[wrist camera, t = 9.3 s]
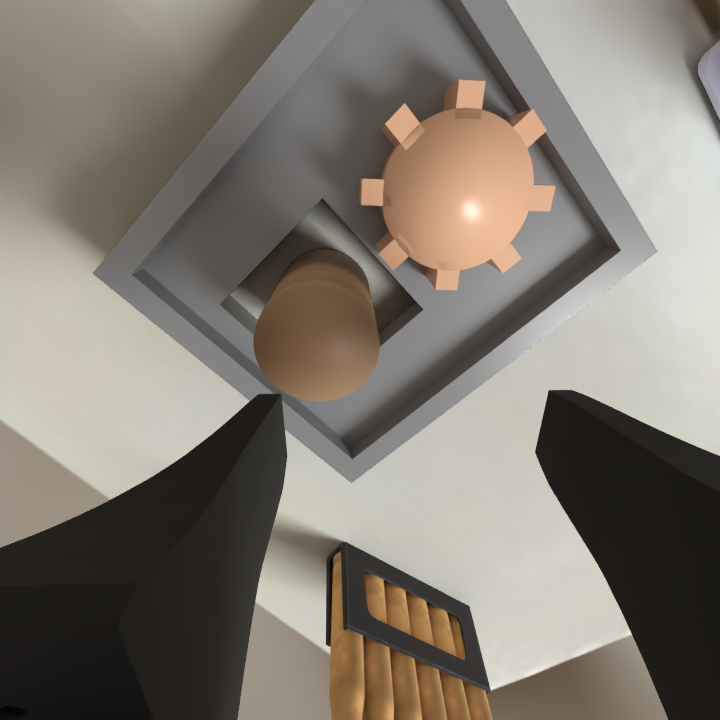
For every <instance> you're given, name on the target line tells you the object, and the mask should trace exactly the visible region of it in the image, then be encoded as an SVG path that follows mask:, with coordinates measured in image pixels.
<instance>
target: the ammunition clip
mask: <svg viewBox="0 0 720 720" xmlns="http://www.w3.org/2000/svg"><path fill="white" fill-rule="evenodd" d="M326 645H328V646H330V647H331V655H330V690H329V692H330V693H329V698H330V699H329V700H330V708H331V715H332V720H492V716H491V712H490V708H489V704H488V700H487V697H486V694H488V693H489V692H490V691H491V690H490V686H489V682H488V678H487V674H486V670H485V666H484V662H483V658H482V654H481V650H480V646H479V642H478V639H477V635H476V631H475V627H474V623H473V619H472V615H471V611H470V607H469V606H468V605H466V604H464V603H462V602H460V601H458V600H456V599H454V598H452V597H450V596H448V595H447V594H445V593H443V592H441V591H439V590H437V589H435V588H433V587H431V586H429V585H427V584H425V583H424V582H422V581H420V580H418V579H416V578H414V577H412V576H410V575H408V574H406V573H404V572H402V571H401V570H399V569H397V568H395V567H393V566H391V565H389V564H387V563H385V562H383V561H381V560H379V559H378V558H376V557H374V556H372V555H370V554H368V553H366V552H364V551H362V550H360V549H358V548H356V547H355V546H353V545H351V544H349V543H347V542H346V543H343V544H341V545H340V546H339V547H338V548H337V549H336V550H335V551H334V552H333V553H332V554H331V555H330V556H329V557H328V558H327V594H326ZM485 691H486V693H485Z"/></svg>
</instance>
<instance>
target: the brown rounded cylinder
mask: <svg viewBox="0 0 720 720" xmlns="http://www.w3.org/2000/svg"><path fill="white" fill-rule="evenodd" d="M253 347H254V353H255V357H256V360H257V363H258V365H259V367H260V369H261V370H262V372H263V374H264V375H265V376H266V377H267V379H268V380H269V381H270V382H271V383H272V384H273V385H274V386H276V387H277V388H278V389H280V390H281V391H283V392H284V393H286V394H288V395H290V396H293V397H295V398H299V399H302V400H307V401H318V402H319V401H330V400H335V399H338V398H341V397H344V396H346V395H348V394H350V393H352V392H354V391H355V390H356V389H358V388H359V387H360V386H361V385H362V384H363V383H364V382H366V380H367V379H368V378H369V377H370V375H371V373H372V372H373V370H374V368H375V366H376V363H377V360H378V356H379V349H380V342H379V335H378V329H377V324H376V319H375V314H374V309H373V304H372V299H371V294H370V289H369V284H368V280H367V277H366V275H365V273H364V271H363V270H362V268H361V267H360V266H359V265H358V263H357V262H355V261H354V260H353V259H352V258H351V257H349V256H348V255H346V254H344V253H342V252H339V251H336V250H331V249H317V250H312V251H309V252H306V253H304V254H302V255H300V256H299V257H298V258H296V259H295V260H294V261H293V262H292V263H291V264H290V265H289V266H288V268H287V270H286V271H285V273H284V275H283V276H282V278H281V280H280V282H279V283H278V285H277V287H276V289H275V290H274V292H273V294H272V296H271V298H270V299H269V301H268V303H267V305H266V306H265V308H264V310H263V312H262V313H261V315H260V317H259V319H258V321H257V324H256V327H255V331H254V338H253Z"/></svg>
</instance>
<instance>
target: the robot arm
mask: <svg viewBox="0 0 720 720" xmlns="http://www.w3.org/2000/svg"><path fill="white" fill-rule="evenodd" d="M698 74H699V77H700V79H701V81H702V83H703V85H704V87H705V90H706V92H707V94H708V96H709V98H710V100H711V102H712V104H713V107H714V109H715V111H716V113H717V115H718V117H719V119H720V40H719V41H718V42H717V43H716V44H715V45H714V46H713V47H711V48H710V49H709V50H708V51H707V52H706V53H705V54H704V55H703V56H702V57H701V60H700V62H699V64H698ZM535 453H536V455H537V458H538V460H539V463H540V465H541V468H542V470H543V472H544V475H545V477H546V479H547V481H548V483H549V485H550V487H551V489H552V490H553V492H554V494H555V495H556V497H557V499H558V500H559V502H560V504H561V505H562V507H563V509H564V510H565V512H566V514H567V515H568V517H569V518H570V520H571V522H572V523H573V525H574V526H575V528H576V530H577V531H578V533H579V535H580V536H581V538H582V539H583V541H584V543H585V544H586V546H587V547H588V549H589V551H590V552H591V554H592V556H593V557H594V559H595V561H596V562H597V564H598V566H599V568H600V569H601V571H602V573H603V575H604V577H605V579H606V581H607V583H608V585H609V587H610V589H611V591H612V593H613V595H614V597H615V599H616V601H617V603H618V605H619V607H620V609H621V611H622V613H623V615H624V618H625V620H626V622H627V624H628V626H629V629H630V631H631V633H632V635H633V638H634V640H635V642H636V644H637V646H638V649H639V651H640V653H641V655H642V657H643V660H644V662H645V664H646V667H647V669H648V671H649V674H650V676H651V678H652V681H653V684H654V686H655V688H656V691H657V693H658V696H659V698H660V700H661V703H662V705H663V707H664V709H665V712H666V715H667V717H668V720H720V456H718V455H716V454H713V453H711V452H708V451H706V450H703V449H701V448H698V447H696V446H694V445H692V444H689V443H687V442H685V441H682V440H680V439H678V438H675V437H673V436H671V435H669V434H666V433H664V432H662V431H660V430H658V429H656V428H653V427H651V426H649V425H647V424H645V423H643V422H641V421H639V420H637V419H635V418H632V417H630V416H628V415H626V414H624V413H622V412H620V411H618V410H616V409H614V408H612V407H610V406H608V405H606V404H603V403H601V402H599V401H597V400H595V399H593V398H590V397H588V396H586V395H583V394H581V393H578V392H575V391H572V390H549V392H548V396H547V401H546V406H545V410H544V415H543V419H542V424H541V428H540V433H539V437H538V442H537V446H536V451H535ZM286 461H287V449H286V438H285V427H284V416H283V405H282V394H258V395H257V396H255V397H254V398H253V399H252V400H251V401H250V402H249V403H248V404H246V405H245V406H244V407H243V408H242V409H241V410H240V411H239V412H238V413H236V414H235V415H234V416H233V417H232V418H231V419H230V420H228V421H227V422H226V423H225V424H224V425H223V426H222V427H220V428H219V429H218V430H217V431H216V432H214V433H213V434H212V435H211V436H209V437H208V438H207V439H205V440H204V441H203V442H202V443H200V444H199V445H198V446H196V447H195V448H194V449H193V450H191V451H190V452H189V453H187V454H186V455H185V456H183V457H182V458H180V459H179V460H177V461H176V462H175V463H173V464H172V465H170V466H168V467H167V468H165V469H164V470H162V471H161V472H159V473H157V474H156V475H154V476H153V477H151V478H149V479H148V480H146V481H144V482H142V483H141V484H139V485H137V486H135V487H133V488H131V489H130V490H128V491H126V492H124V493H122V494H120V495H119V496H117V497H115V498H113V499H111V500H109V501H108V502H106V503H104V504H102V505H100V506H98V507H96V508H94V509H91V510H89V511H87V512H85V513H83V514H81V515H79V516H77V517H74V518H72V519H70V520H68V521H65V522H63V523H61V524H59V525H56V526H54V527H52V528H50V529H47V530H45V531H42V532H40V533H37V534H35V535H33V536H30V537H27V538H25V539H22V540H20V541H17V542H14V543H12V544H9V545H6V546H4V547H1V548H0V720H237V718H238V710H239V704H240V696H241V689H242V682H243V675H244V668H245V662H246V655H247V648H248V642H249V636H250V629H251V623H252V617H253V611H254V605H255V599H256V593H257V587H258V582H259V578H260V573H261V569H262V564H263V561H264V557H265V553H266V550H267V546H268V542H269V539H270V535H271V531H272V528H273V524H274V520H275V517H276V513H277V509H278V505H279V502H280V498H281V494H282V490H283V484H284V477H285V469H286Z"/></svg>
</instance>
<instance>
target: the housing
mask: <svg viewBox="0 0 720 720" xmlns="http://www.w3.org/2000/svg"><path fill="white" fill-rule="evenodd" d="M321 199H323V200H324V201H325V202H326V203H327V204H328V205H329V206H330V207H331V208H332V210H333V211H334V212H335V213H336V214H337V215H338V216H339V217H340V218H341V219H342V221H343V222H344V223H345V224H346V225H347V226H348V227H349V228H350V229H351V230H352V232H353V233H354V234H355V235H356V236H357V237H358V238H359V239H360V240H361V241H362V243H363V244H364V245H365V246H366V247H367V248H368V249H369V250H370V251H371V252H372V253H373V255H374V256H375V257H376V258H377V259H378V260H379V261H380V262H381V263H382V264H383V266H384V267H385V268H386V269H387V270H388V271H389V272H390V273H391V274H392V275H393V277H394V278H395V279H396V280H397V281H398V282H399V283H400V284H401V285H402V286H403V288H404V289H405V290H406V291H407V292H408V293H409V294H410V295H411V296H412V297H413V299H414V300H415V301H416V302H414V303H413V304H412V305H411V306H410V307H409V308H407V309H406V310H405V311H404V312H403V313H402V314H401V315H399V316H398V317H397V318H396V319H395V320H394V321H393V322H391V323H390V324H389V325H388V326H387V327H386V328H384V329H383V330H382V331H381V332H380V333H379V334H378V335H379V342H380V349H379V356H378V360H377V363H376V366H375V368H374V370H373V372H372V373H371V375H370V377H369V378H368V379H367V380H366V382H364V383H363V384H362V385H361V386H360V387H359V388H358V389H356V390H355V391H354V392H352V393H350V394H348V395H346V396H344V397H341V398H338V399H335V400H330V401H319V402H318V401H307V400H302V399H299V398H295V397H293V396H290V395H288V394H286V393H284V392H283V391H281V390H280V389H278V388H277V387H276V386H274V385H273V384H272V383H271V382H270V381H269V380H268V379H267V377H266V376H265V375H264V374H263V372H262V370H261V369H260V367H259V365H258V363H257V360H256V357H255V353H254V347H253V338H254V331H255V327H256V324H257V321H258V320H257V319H256V318H254V317H253V316H252V315H251V314H250V313H249V312H248V311H247V310H246V309H244V308H243V307H242V306H241V305H240V304H239V303H238V302H237V301H236V300H234V299H233V298H232V297H231V296H230V295H229V294H230V293H231V292H232V291H233V290H234V289H235V288H236V287H237V286H238V285H239V284H240V283H241V282H242V281H243V280H244V279H245V278H246V277H247V276H248V275H249V274H250V273H251V272H252V271H253V270H254V269H255V267H256V266H257V265H258V264H259V263H260V262H261V261H262V260H263V259H264V258H265V257H266V256H267V255H268V254H269V253H270V252H271V251H272V250H273V249H274V248H275V247H276V246H277V245H278V244H279V243H280V242H281V240H282V239H283V238H284V237H285V236H286V235H287V234H288V233H289V232H290V231H291V230H292V229H293V228H294V227H295V226H296V225H297V224H298V223H299V222H300V221H301V220H302V219H303V218H304V217H305V216H306V215H307V213H308V212H309V211H310V210H311V209H312V208H313V207H314V206H315V205H316V204H317V203H318V202H319V201H320V200H321ZM656 252H658V251H657V250H656V248H655V246H654V245H653V243H652V242H651V240H650V238H649V237H648V235H647V233H646V232H645V230H644V228H643V227H642V225H641V223H640V222H639V220H638V218H637V217H636V215H635V213H634V212H633V210H632V208H631V207H630V205H629V203H628V202H627V200H626V198H625V197H624V195H623V194H622V192H621V190H620V189H619V187H618V185H617V184H616V182H615V180H614V179H613V177H612V175H611V174H610V172H609V170H608V169H607V167H606V165H605V164H604V162H603V160H602V159H601V157H600V155H599V154H598V152H597V150H596V149H595V147H594V146H593V144H592V142H591V141H590V139H589V137H588V136H587V134H586V132H585V131H584V129H583V127H582V126H581V124H580V122H579V121H578V119H577V117H576V116H575V114H574V112H573V111H572V109H571V107H570V106H569V104H568V102H567V101H566V99H565V98H564V96H563V94H562V93H561V91H560V89H559V88H558V86H557V84H556V83H555V81H554V79H553V78H552V76H551V74H550V73H549V71H548V69H547V68H546V66H545V64H544V63H543V61H542V59H541V58H540V56H539V54H538V53H537V51H536V50H535V48H534V46H533V45H532V43H531V41H530V40H529V38H528V36H527V35H526V33H525V31H524V30H523V28H522V26H521V25H520V23H519V21H518V20H517V18H516V16H515V15H514V13H513V11H512V10H511V8H510V6H509V5H508V3H507V2H506V0H315V1H314V2H313V3H312V5H311V6H310V7H309V8H308V9H307V11H306V12H305V13H304V14H303V16H302V17H301V18H300V19H299V21H298V22H297V23H296V24H295V25H294V27H293V28H292V29H291V30H290V32H289V33H288V34H287V35H286V37H285V38H284V39H283V40H282V41H281V43H280V44H279V45H278V46H277V48H276V49H275V50H274V51H273V52H272V54H271V55H270V56H269V57H268V59H267V60H266V61H265V62H264V64H263V65H262V66H261V67H260V68H259V70H258V71H257V72H256V73H255V75H254V76H253V77H252V78H251V80H250V81H249V82H248V83H247V84H246V86H245V87H244V88H243V89H242V91H241V92H240V93H239V94H238V95H237V97H236V98H235V99H234V100H233V102H232V103H231V104H230V105H229V107H228V108H227V109H226V110H225V111H224V113H223V114H222V115H221V116H220V118H219V119H218V120H217V121H216V122H215V124H214V125H213V126H212V127H211V129H210V130H209V131H208V132H207V134H206V135H205V136H204V137H203V138H202V140H201V141H200V142H199V143H198V145H197V146H196V147H195V148H194V150H193V151H192V152H191V153H190V154H189V156H188V157H187V158H186V159H185V161H184V162H183V163H182V164H181V165H180V167H179V168H178V169H177V170H176V172H175V173H174V174H173V175H172V177H171V178H170V179H169V180H168V181H167V183H166V184H165V185H164V186H163V188H162V189H161V190H160V191H159V193H158V194H157V195H156V196H155V197H154V199H153V200H152V201H151V202H150V204H149V205H148V206H147V207H146V208H145V210H144V211H143V212H142V213H141V215H140V216H139V217H138V218H137V220H136V221H135V222H134V223H133V224H132V226H131V227H130V228H129V229H128V231H127V232H126V233H125V234H124V236H123V237H122V238H121V239H120V240H119V242H118V243H117V244H116V245H115V247H114V248H113V249H112V250H111V251H110V253H109V254H108V255H107V256H106V258H105V259H104V260H103V261H102V263H101V264H100V265H99V266H98V267H97V269H96V270H95V271H94V272H93V274H94V275H95V276H96V277H98V278H99V279H100V280H101V281H103V282H104V283H105V284H106V285H108V286H109V287H110V288H111V289H113V290H114V291H115V292H116V293H117V294H119V295H120V296H121V297H122V298H124V299H125V300H126V301H127V302H129V303H130V304H131V305H132V306H134V307H135V308H136V309H137V310H138V311H140V312H141V313H142V314H143V315H145V316H146V317H147V318H148V319H150V320H151V321H152V322H153V323H155V324H156V325H157V326H158V327H159V328H161V329H162V330H163V331H164V332H166V333H167V334H168V335H169V336H171V337H172V338H173V339H174V340H176V341H177V342H178V343H179V344H180V345H182V346H183V347H184V348H185V349H187V350H188V351H189V352H190V353H192V354H193V355H194V356H195V357H197V358H198V359H199V360H200V361H201V362H203V363H204V364H205V365H206V366H208V367H209V368H210V369H211V370H213V371H214V372H215V373H216V374H218V375H219V376H220V377H221V378H222V379H224V380H225V381H226V382H227V383H229V384H230V385H231V386H232V387H234V388H235V389H236V390H237V391H239V392H240V393H241V394H242V395H243V396H245V397H246V398H247V399H248V400H250V401H251V400H252V399H253V398H254V397H255V396H257V395H258V394H282V405H283V416H284V427H285V429H286V430H287V431H288V432H289V433H290V434H292V435H293V436H294V437H295V438H297V439H298V440H299V441H300V442H302V443H303V444H304V445H305V446H307V447H308V448H309V449H310V450H311V451H313V452H314V453H315V454H316V455H318V456H319V457H320V458H321V459H323V460H324V461H325V462H326V463H328V464H329V465H330V466H331V467H332V468H334V469H335V470H336V471H337V472H339V473H340V474H341V475H342V476H344V477H345V478H346V479H347V480H349V481H350V482H351V483H352V482H353V481H355V480H356V479H357V478H359V477H360V476H361V475H363V474H364V473H365V472H367V471H368V470H369V469H371V468H372V467H373V466H375V465H376V464H377V463H379V462H380V461H381V460H383V459H384V458H385V457H387V456H388V455H389V454H391V453H392V452H393V451H394V450H396V449H397V448H398V447H400V446H401V445H402V444H404V443H405V442H406V441H408V440H409V439H410V438H412V437H413V436H414V435H416V434H417V433H418V432H420V431H421V430H422V429H424V428H425V427H426V426H428V425H429V424H430V423H432V422H433V421H434V420H436V419H437V418H438V417H439V416H441V415H442V414H443V413H445V412H446V411H447V410H449V409H450V408H451V407H453V406H454V405H455V404H457V403H458V402H459V401H461V400H462V399H463V398H465V397H466V396H467V395H469V394H470V393H471V392H473V391H474V390H475V389H477V388H478V387H479V386H480V385H482V384H483V383H484V382H486V381H487V380H488V379H490V378H491V377H492V376H494V375H495V374H496V373H498V372H499V371H500V370H502V369H503V368H504V367H506V366H507V365H508V364H510V363H511V362H512V361H514V360H515V359H516V358H518V357H519V356H520V355H522V354H523V353H524V352H525V351H527V350H528V349H529V348H531V347H532V346H533V345H535V344H536V343H537V342H539V341H540V340H541V339H543V338H544V337H545V336H547V335H548V334H549V333H551V332H552V331H553V330H555V329H556V328H557V327H559V326H560V325H561V324H563V323H564V322H565V321H566V320H568V319H569V318H570V317H572V316H573V315H574V314H576V313H577V312H578V311H580V310H581V309H582V308H584V307H585V306H586V305H588V304H589V303H590V302H592V301H593V300H594V299H596V298H597V297H598V296H600V295H601V294H602V293H604V292H605V291H606V290H608V289H609V288H610V287H611V286H613V285H614V284H615V283H617V282H618V281H619V280H621V279H622V278H623V277H625V276H626V275H627V274H629V273H630V272H631V271H633V270H634V269H635V268H637V267H638V266H639V265H641V264H642V263H643V262H645V261H646V260H647V259H649V258H650V257H651V256H652V255H654V254H655V253H656Z"/></svg>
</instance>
